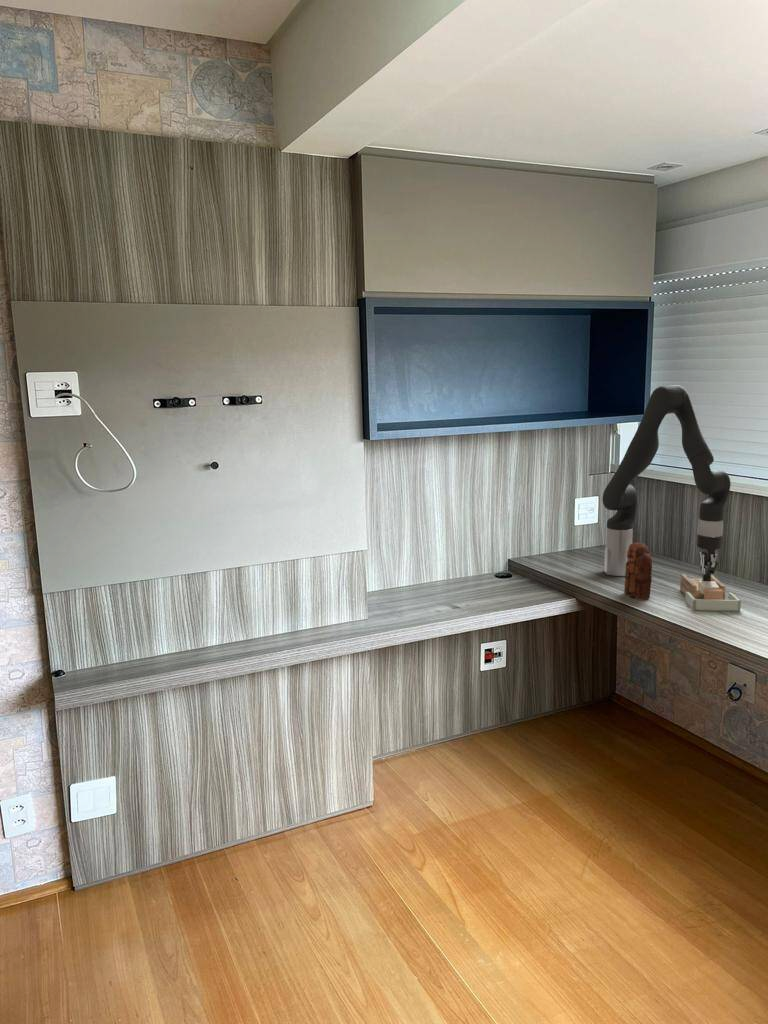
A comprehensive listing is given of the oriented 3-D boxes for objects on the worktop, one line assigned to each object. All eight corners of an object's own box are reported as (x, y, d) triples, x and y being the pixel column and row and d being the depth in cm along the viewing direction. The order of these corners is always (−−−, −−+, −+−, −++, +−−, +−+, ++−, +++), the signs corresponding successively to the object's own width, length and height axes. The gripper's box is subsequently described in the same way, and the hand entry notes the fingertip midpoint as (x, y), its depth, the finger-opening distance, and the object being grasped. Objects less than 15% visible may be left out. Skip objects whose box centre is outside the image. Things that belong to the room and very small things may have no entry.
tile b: (703, 604, 245) (706, 606, 242) (704, 589, 244) (707, 591, 242) (719, 604, 244) (722, 606, 242) (720, 589, 244) (723, 591, 241)
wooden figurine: (618, 591, 262) (620, 540, 259) (635, 590, 264) (637, 538, 261) (637, 601, 251) (640, 547, 248) (655, 599, 252) (657, 546, 249)
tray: (693, 610, 240) (693, 600, 239) (685, 602, 249) (686, 591, 248) (740, 611, 238) (740, 600, 238) (730, 603, 247) (731, 592, 246)
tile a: (701, 593, 245) (702, 586, 244) (698, 587, 250) (698, 581, 249) (718, 594, 244) (719, 587, 244) (714, 588, 249) (715, 581, 248)
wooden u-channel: (691, 602, 249) (692, 585, 248) (680, 589, 263) (680, 573, 262) (724, 603, 247) (725, 586, 246) (710, 590, 262) (711, 574, 261)
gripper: (692, 528, 254) (688, 578, 257) (703, 537, 241) (699, 590, 245) (715, 528, 253) (712, 579, 257) (728, 538, 240) (724, 591, 244)
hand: (706, 584), depth 251 cm, fingers closed
